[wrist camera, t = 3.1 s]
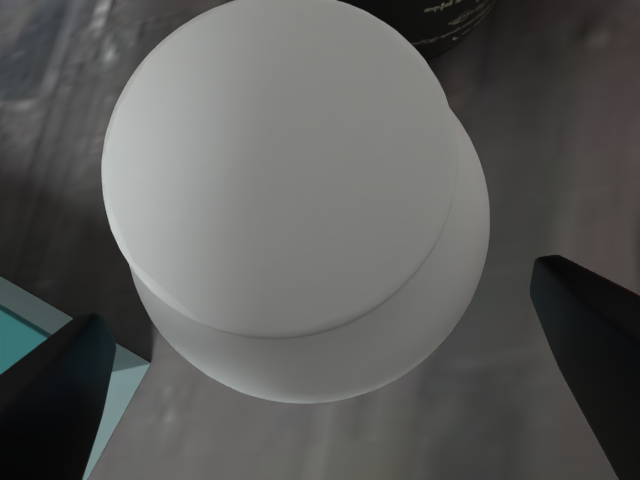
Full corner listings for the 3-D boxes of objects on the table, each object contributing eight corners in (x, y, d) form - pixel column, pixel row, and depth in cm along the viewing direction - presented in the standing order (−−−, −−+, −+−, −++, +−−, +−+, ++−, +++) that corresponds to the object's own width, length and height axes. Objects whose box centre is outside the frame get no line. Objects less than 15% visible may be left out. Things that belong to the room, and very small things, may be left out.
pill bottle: (210, 282, 19) (-117, 196, 6) (316, 153, 20) (237, -184, 7) (345, 397, 18) (314, 620, 5) (454, 255, 18) (702, 91, 5)
